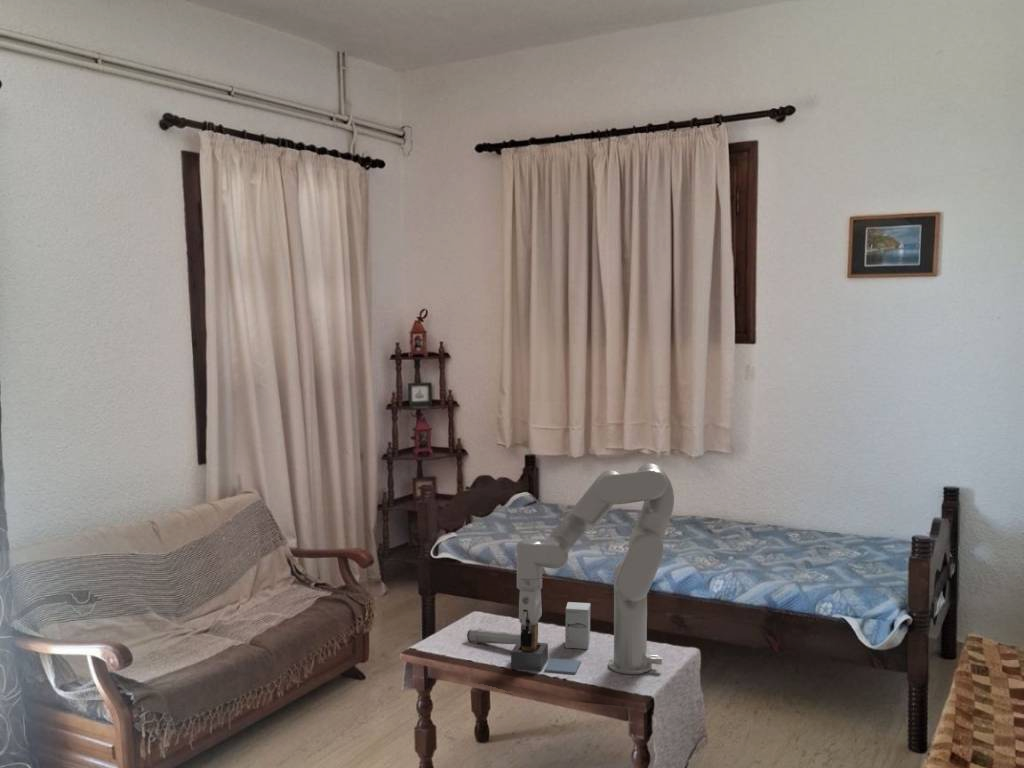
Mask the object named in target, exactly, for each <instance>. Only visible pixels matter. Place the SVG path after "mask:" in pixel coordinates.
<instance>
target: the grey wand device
mask: <svg viewBox="0 0 1024 768" xmlns="http://www.w3.org/2000/svg"><path fill="white" fill-rule="evenodd" d="M466 637H467V639H466V640H467V641H468V642H469V641H471V642H470V643H474V642H477V644H478V643H480V644H498V645H499V644H501V645H516V644H517V642H518V641H521V633H512V632H503V631H494V630H487V629H486V630H485V629H482V628H478V629H471V628H470V630H468V631H467V634H466ZM538 643H540V642H539V641H538Z"/></svg>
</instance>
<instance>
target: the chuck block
mask: <svg viewBox="0 0 1024 768" xmlns="http://www.w3.org/2000/svg"><path fill="white" fill-rule="evenodd" d="M548 644H549V643H548V642H547V643H546V642H539V643H538V650H537V652H536V651H525V650H521V641H518V642H517V644H514V647H512V649H511V651H510V669H513V670H514V669H515V670H516V669H517V670H527V671H536V672H542V671H543V669H544V667H546V666H545V665H546V664H547V662H548V661H549V660H548V659H549V653H548V652H549V651H548V650H549V645H548Z"/></svg>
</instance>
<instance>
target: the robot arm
mask: <svg viewBox="0 0 1024 768" xmlns="http://www.w3.org/2000/svg"><path fill="white" fill-rule="evenodd" d="M589 486H590V487H589V488H588V489H587V490H586V491H585V492H584V494H583V495H582V496H581V498H580V499H579V500H578V501H577V502H576V504H574V506H573V507H572V509H570V510H569V512H568V513H567V514H566V515H565V516H564V518H563V519H562V520H561V521H560V522H559V523H558V525H557V526H556V527H555V529H553V531H552V532H551V533H550V535H549V536H548V537H547V538H546V540H545V542H544V543H542V542H541V541H540V540H537V539H530V538H529V539H521V540H519V541H518V542H517V544H516V588H517V589H518V590H519V596H518V597H519V599H518V601H519V602H518V621H519V623H520V634H521V646H525V647H531V646H532V633H531V625H532V623H533V624H536V623H537V621H538V622H539V620H540V618H541V617H542V614H543V612H542V611H543V610H542V609H543V608H542V606H543V605H542V591H541V590H542V589H543V568H546V569H554V570H557V569H561V568H563V567H565V565H566V564H567V562H568V560H569V552H570V551H571V549H572V548H573V547H574V546H575V544H576V543H577V542H578V541H579V539H580V538H582V536H583V535H584V534H585V533H587V532H588V531H591V530H592V529H594V528H596V527H597V526H598V525H599V523H600V522H601V521H602V520H603V519H604V517H605V516H606V515H607V514H608V512H609V511H610V510H611V509H612V507H613V506H616V505H624V504H632V503H638V502H643V503H642V507H641V510H640V511H639V512H640V513H639V515H638V518H637V520H636V522H635V525H634V528H633V529H632V532H631V534H630V536H629V538H628V551H627V553H626V555H625V558H624V559H622V560H620V561H619V562H618V563H617V565H616V566H615V568H614V571H613V657H611V658H609V660H608V668H609V669H611V670H612V671H614V672H617V673H619V674H623V675H624V674H625V675H640V674H641V675H642V674H646V673H648V672H650V671H651V670H652V669H653V668H652V667H653V665H658V666H660V665H662V664H663V657H659V655H656V654H653V655H652V654H651V653H649V652H650V651H649V649H648V648H647V647H648V646H647V645H648V644H647V642H648V641H647V640H648V639H647V637H648V636H647V634H648V633H647V632H648V630H647V629H648V627H647V625H648V624H647V623H648V622H647V621H648V593H649V591H650V588H651V587H652V584H653V582H654V579H655V578H656V576H657V573H658V570H659V567H660V565H661V562H662V560H663V558H664V557H663V556H664V551H665V549H664V543H663V540H664V539H663V538H664V537H665V536H664V535H665V533H666V530H667V528H668V525H669V521H670V519H671V517H672V514H673V511H674V507H675V506H674V505H675V495H674V494H675V493H674V488H673V485H672V482H671V480H670V478H669V477H668V475H667V474H666V472H665V471H664V470H663V469H662V468H661V467H660V466H659V465H657V464H655V463H645V464H643V465H641V466H640V467H639V468H638V469H637V470H636V471H633V472H626V473H619V472H618V471H615V470H612V469H607V470H605V471H603V472H601V473H600V475H599V476H598V477H597V478H596V479H595V480H594V482H592V484H591V485H589ZM527 621H530V622H527ZM526 625H529V628H528V626H526ZM645 672H646V673H645Z"/></svg>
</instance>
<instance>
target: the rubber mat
mask: <svg viewBox="0 0 1024 768" xmlns="http://www.w3.org/2000/svg"><path fill="white" fill-rule="evenodd" d="M546 664H547V665H546V666H545V668H544V672H548V673H557V674H565V675H566V674H568V675H576V674H577V672H578V670H579V668H580V666H581V664H582V660H575V659H566V658H554V657H552V658H551V657H550V659H549V660H548V663H546Z"/></svg>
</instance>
